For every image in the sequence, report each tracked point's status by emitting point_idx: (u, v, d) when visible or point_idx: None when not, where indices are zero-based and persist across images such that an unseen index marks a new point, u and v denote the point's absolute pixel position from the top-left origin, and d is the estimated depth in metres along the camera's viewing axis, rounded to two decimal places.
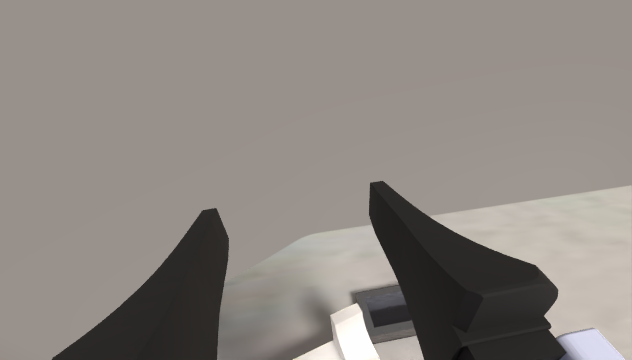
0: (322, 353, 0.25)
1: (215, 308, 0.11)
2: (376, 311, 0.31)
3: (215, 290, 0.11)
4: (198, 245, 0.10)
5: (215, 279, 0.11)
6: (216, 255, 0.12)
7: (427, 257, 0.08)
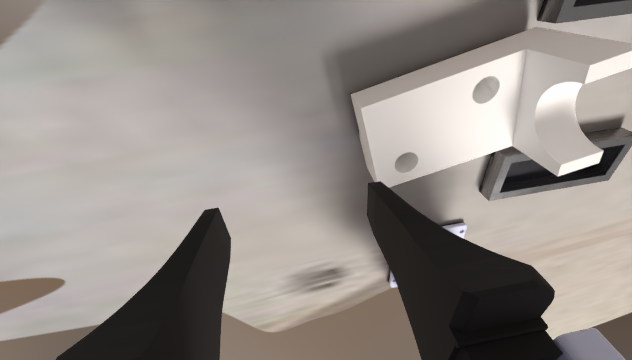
0: (502, 67, 0.17)
1: (218, 308, 0.11)
2: None
3: (217, 290, 0.11)
4: (201, 245, 0.10)
5: (217, 279, 0.11)
6: (218, 255, 0.12)
7: (424, 258, 0.08)
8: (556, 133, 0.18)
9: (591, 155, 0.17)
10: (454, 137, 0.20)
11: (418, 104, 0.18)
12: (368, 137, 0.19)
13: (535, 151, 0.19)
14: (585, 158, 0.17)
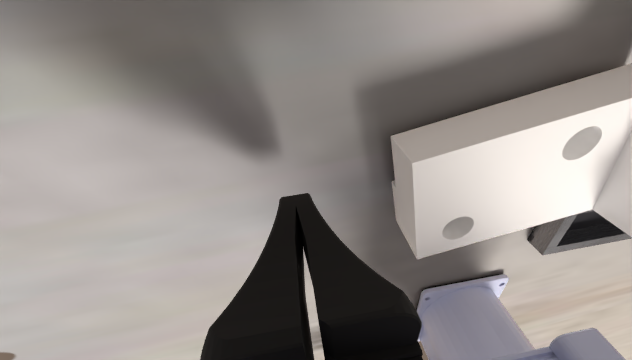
0: (611, 116, 0.12)
1: (304, 292, 0.11)
2: None
3: (302, 274, 0.11)
4: (294, 228, 0.10)
5: (301, 263, 0.11)
6: (299, 240, 0.12)
7: (312, 278, 0.08)
8: None
9: None
10: (525, 199, 0.15)
11: (490, 159, 0.13)
12: (415, 199, 0.13)
13: None
14: None
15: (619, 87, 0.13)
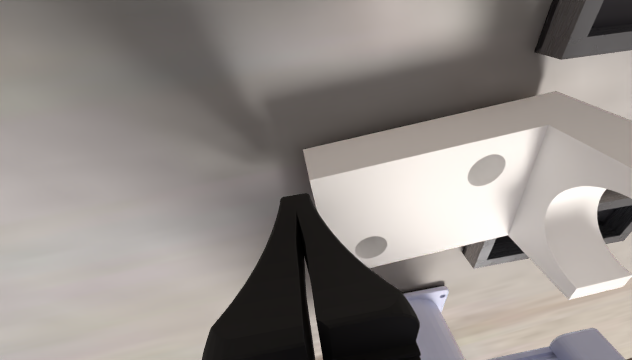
0: (512, 145, 0.12)
1: (305, 292, 0.11)
2: None
3: (303, 274, 0.11)
4: (295, 228, 0.10)
5: (302, 263, 0.11)
6: (300, 240, 0.12)
7: (310, 278, 0.08)
8: (570, 238, 0.13)
9: (616, 279, 0.12)
10: (437, 222, 0.14)
11: (393, 180, 0.12)
12: None
13: (540, 255, 0.14)
14: (608, 282, 0.12)
15: (523, 117, 0.13)
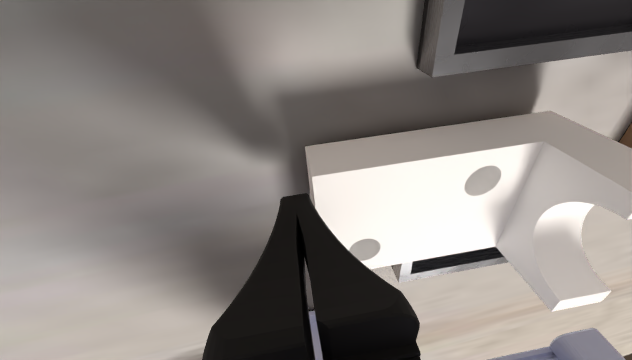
0: (509, 158, 0.13)
1: (305, 291, 0.11)
2: None
3: (303, 274, 0.11)
4: (296, 228, 0.10)
5: (302, 263, 0.11)
6: (301, 240, 0.12)
7: (310, 279, 0.08)
8: (556, 252, 0.14)
9: (596, 294, 0.13)
10: (431, 228, 0.15)
11: (394, 184, 0.12)
12: None
13: (526, 267, 0.14)
14: (588, 296, 0.13)
15: (521, 132, 0.13)
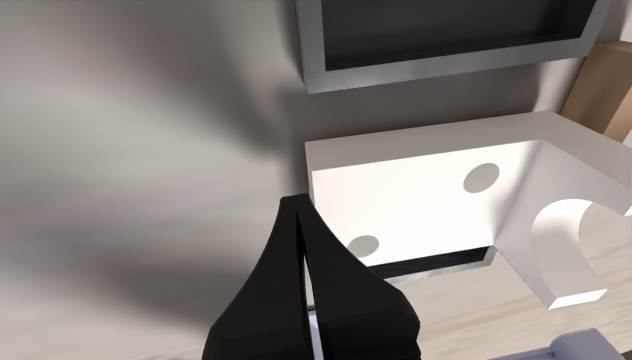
0: (508, 155, 0.13)
1: (305, 292, 0.11)
2: None
3: (303, 274, 0.11)
4: (295, 228, 0.10)
5: (302, 263, 0.11)
6: (300, 240, 0.12)
7: None
8: (553, 250, 0.14)
9: (593, 291, 0.13)
10: (429, 226, 0.15)
11: (393, 180, 0.12)
12: (316, 209, 0.13)
13: (523, 265, 0.14)
14: (585, 293, 0.13)
15: (519, 130, 0.13)
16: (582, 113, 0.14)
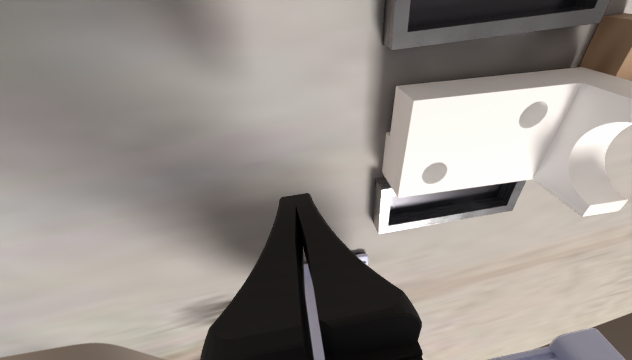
0: (555, 95, 0.17)
1: (304, 292, 0.11)
2: None
3: (302, 274, 0.11)
4: (294, 228, 0.10)
5: (301, 263, 0.11)
6: (299, 240, 0.12)
7: (312, 278, 0.08)
8: (585, 174, 0.18)
9: (617, 201, 0.17)
10: (487, 157, 0.19)
11: (469, 112, 0.16)
12: (409, 135, 0.17)
13: (560, 188, 0.19)
14: (611, 203, 0.17)
15: (563, 78, 0.17)
16: None
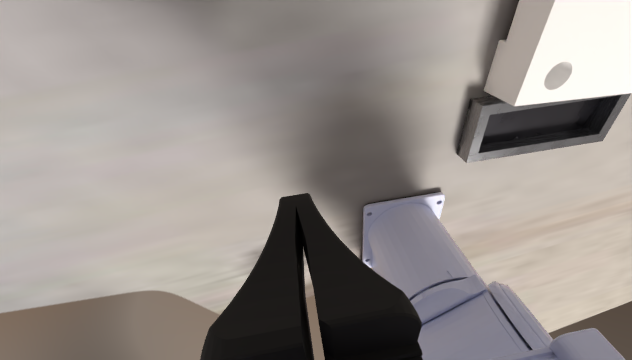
0: None
1: (304, 292, 0.11)
2: None
3: (302, 274, 0.11)
4: (294, 228, 0.10)
5: (301, 263, 0.11)
6: (300, 240, 0.12)
7: (312, 278, 0.08)
8: None
9: None
10: (615, 58, 0.18)
11: None
12: (547, 23, 0.16)
13: None
14: None
15: None
16: None
